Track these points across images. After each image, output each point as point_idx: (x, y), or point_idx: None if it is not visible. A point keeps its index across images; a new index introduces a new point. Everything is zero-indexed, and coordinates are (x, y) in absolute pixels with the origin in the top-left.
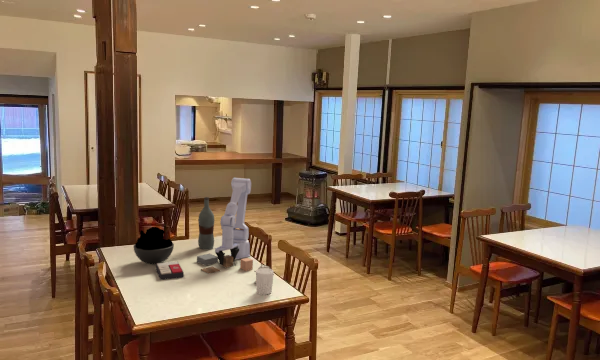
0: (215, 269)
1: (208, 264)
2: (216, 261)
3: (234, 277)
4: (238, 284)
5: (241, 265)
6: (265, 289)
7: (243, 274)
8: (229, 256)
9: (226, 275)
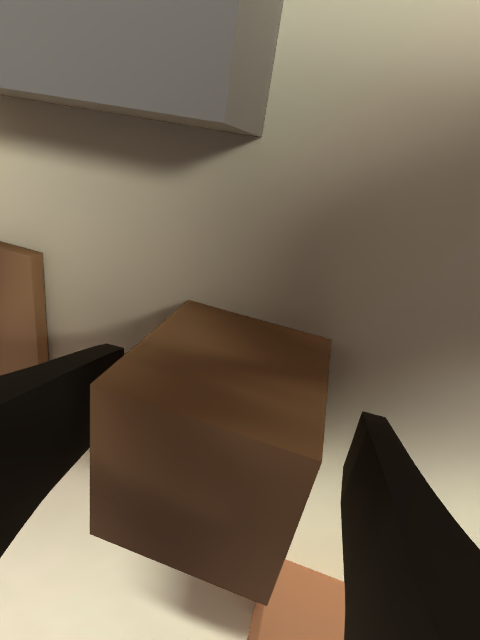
0: (6, 371)
1: (44, 100)
2: (212, 127)
3: (64, 583)
4: (15, 635)
5: (259, 619)
6: None
7: (164, 620)
8: (232, 533)
9: (36, 519)
